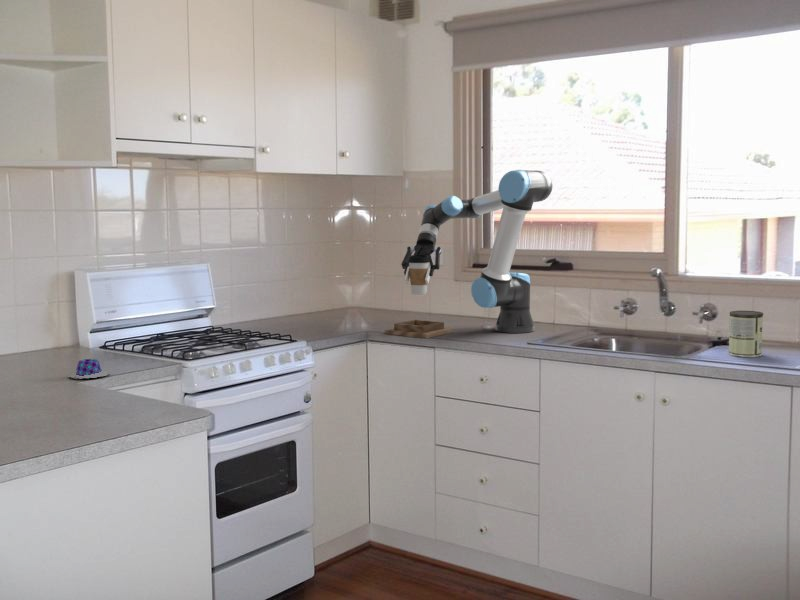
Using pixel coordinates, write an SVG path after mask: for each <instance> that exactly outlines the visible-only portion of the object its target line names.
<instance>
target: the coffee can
mask: <svg viewBox="0 0 800 600" xmlns="http://www.w3.org/2000/svg"><path fill="white" fill-rule="evenodd" d="M763 316H764V312H761V311H757V310H732V311H729V339H728V355H729V356H732V355H733V356H732V357H737V356H741V357H740V358H758V357H759V356H760V357H761V356H763V355H762V353H763V351H762V350H763V349H762V346H763V322H764V321H763V318H764V317H763Z"/></svg>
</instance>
